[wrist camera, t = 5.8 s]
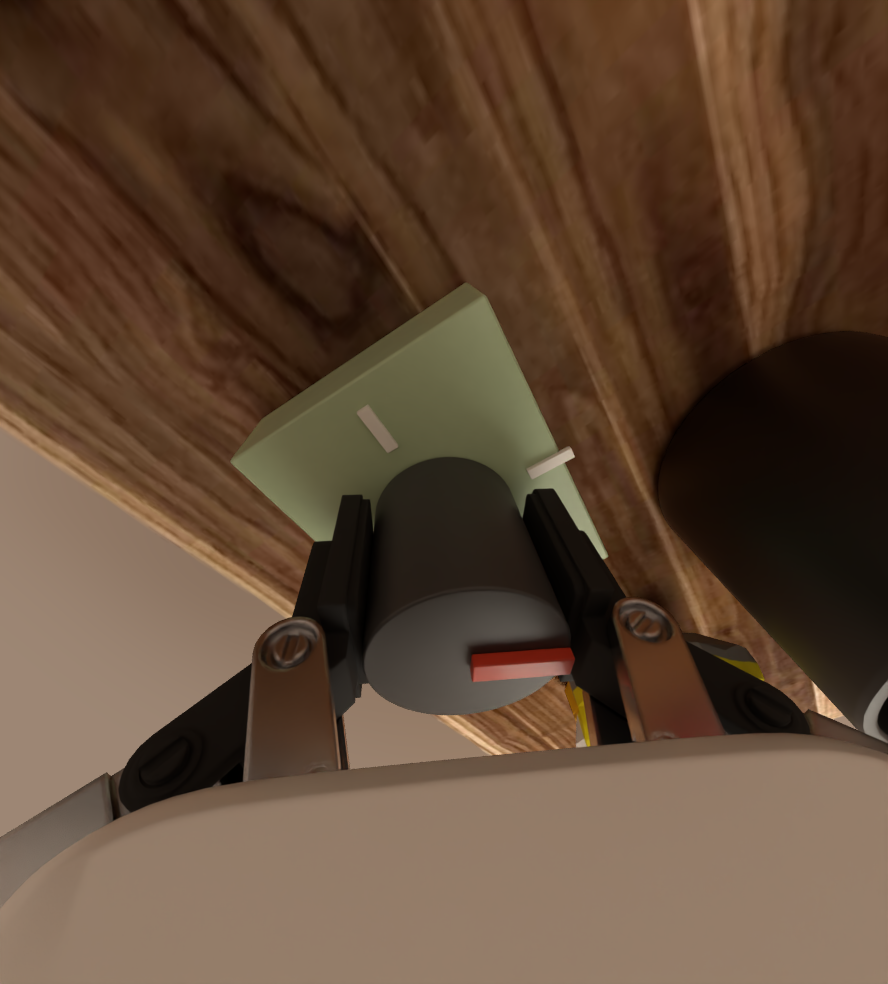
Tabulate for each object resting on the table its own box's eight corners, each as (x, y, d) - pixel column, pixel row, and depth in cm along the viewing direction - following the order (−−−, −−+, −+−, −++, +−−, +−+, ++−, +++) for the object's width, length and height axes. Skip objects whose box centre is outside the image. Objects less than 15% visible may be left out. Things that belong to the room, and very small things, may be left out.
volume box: (254, 423, 13) (217, 470, 10) (476, 274, 11) (498, 286, 9) (414, 589, 18) (416, 648, 16) (584, 505, 16) (619, 556, 14)
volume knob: (380, 571, 13) (370, 738, 9) (369, 457, 11) (347, 609, 6) (506, 564, 14) (556, 721, 9) (522, 453, 11) (600, 594, 7)
